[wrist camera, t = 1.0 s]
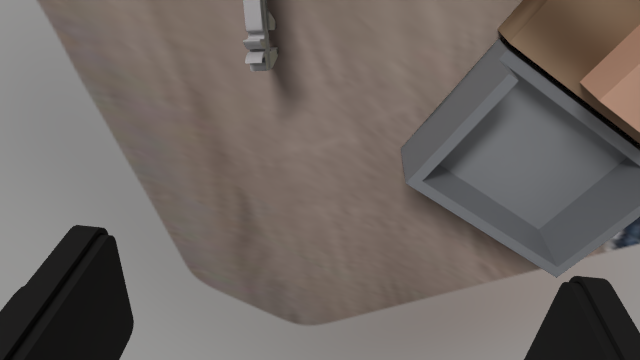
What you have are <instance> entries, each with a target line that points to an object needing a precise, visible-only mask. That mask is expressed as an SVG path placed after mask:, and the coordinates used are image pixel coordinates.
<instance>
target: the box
mask: <svg viewBox="0 0 640 360" xmlns="http://www.w3.org/2000/svg"><path fill="white" fill-rule="evenodd" d="M401 154H402V161H403V168H404V174H405V181H406V184H408V185H409V186H411V187H413V188H414V189H416V190H417V191H419V192H421V193H422V194H424V195H425V196H427V197H429V198H430V199H432V200H433V201H435V202H437V203H438V204H440V205H441V206H443V207H444V208H446V209H448V210H449V211H451V212H452V213H454V214H456V215H457V216H459V217H460V218H462V219H464V220H465V221H467V222H468V223H470V224H472V225H473V226H475V227H476V228H478V229H480V230H481V231H483V232H484V233H486V234H488V235H489V236H491V237H492V238H494V239H496V240H497V241H499V242H500V243H502V244H504V245H505V246H507V247H508V248H510V249H512V250H513V251H515V252H516V253H518V254H520V255H521V256H523V257H524V258H526V259H528V260H529V261H531V262H532V263H534V264H536V265H537V266H539V267H540V268H542V269H543V270H545V271H547V272H548V273H550V274H551V275H553V276H555V277H556V278H557V277H558V276H560V275H561V274H562V273H564V272H565V271H566V270H568V269H569V268H571V267H572V266H573V265H575V264H576V263H577V262H579V261H580V260H581V259H583V258H584V257H586V256H587V255H588V254H590V253H591V252H592V251H594V250H595V249H596V248H598V247H599V246H601V245H602V244H603V243H605V242H606V241H607V240H609V239H610V238H611V237H613V236H614V235H616V234H617V233H618V232H620V231H621V230H622V229H624V228H625V227H626V226H628V225H629V224H631V223H632V222H633V221H635V220H636V219H637V218H639V217H640V147H639V146H637V145H636V144H635V143H634V142H632V141H631V140H630V139H628V138H627V137H626V136H624V135H623V134H622V133H621V132H619V131H618V130H617V129H615V128H614V127H613V126H612V125H610V124H609V123H608V122H606V121H605V120H604V119H602V118H601V117H600V116H599V115H597V114H596V113H595V112H593V111H592V110H591V109H589V108H588V107H587V106H586V105H584V104H583V103H582V102H580V101H579V100H578V99H576V98H575V97H574V96H573V95H571V94H570V93H569V92H567V91H566V90H565V89H563V88H562V87H561V86H560V85H558V84H557V83H556V82H554V81H553V80H552V79H550V78H549V77H548V76H547V75H545V74H544V73H543V72H541V71H540V70H539V69H538V68H536V67H535V66H534V65H532V64H531V63H530V62H528V61H527V60H526V59H525V58H523V57H522V56H521V55H519V54H518V53H517V52H515V51H514V50H513V49H512V48H510V47H509V46H508V45H506V44H505V43H504V42H502V41H501V40H500V39H498V40H497V41H496V42H495V43H494V44H493V45H492V47H491V48H490V49H489V50H488V51H487V52H486V53H485V54H484V56H483V57H482V58H481V59H480V60H479V61H478V62H477V63H476V65H475V66H474V67H473V68H472V69H471V70H470V71H469V72H468V74H467V75H466V76H465V77H464V78H463V79H462V80H461V81H460V83H459V84H458V85H457V86H456V87H455V88H454V89H453V90H452V92H451V93H450V94H449V95H448V96H447V97H446V98H445V100H444V101H443V102H442V103H441V104H440V105H439V106H438V107H437V109H436V110H435V111H434V112H433V113H432V114H431V115H430V116H429V118H428V119H427V120H426V121H425V122H424V123H423V124H422V125H421V127H420V128H419V129H418V130H417V131H416V132H415V133H414V134H413V136H412V137H411V138H410V139H409V140H408V141H407V142H406V143H405V145H404V146H403V147H402V148H401Z"/></svg>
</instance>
